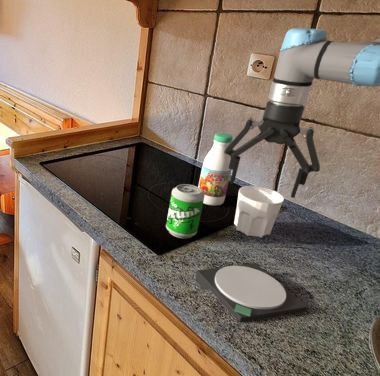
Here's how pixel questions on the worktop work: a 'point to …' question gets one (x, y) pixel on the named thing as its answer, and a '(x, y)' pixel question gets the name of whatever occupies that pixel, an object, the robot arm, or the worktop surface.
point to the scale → (249, 292)
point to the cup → (257, 210)
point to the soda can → (185, 210)
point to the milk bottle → (216, 171)
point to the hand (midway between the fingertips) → (261, 188)
